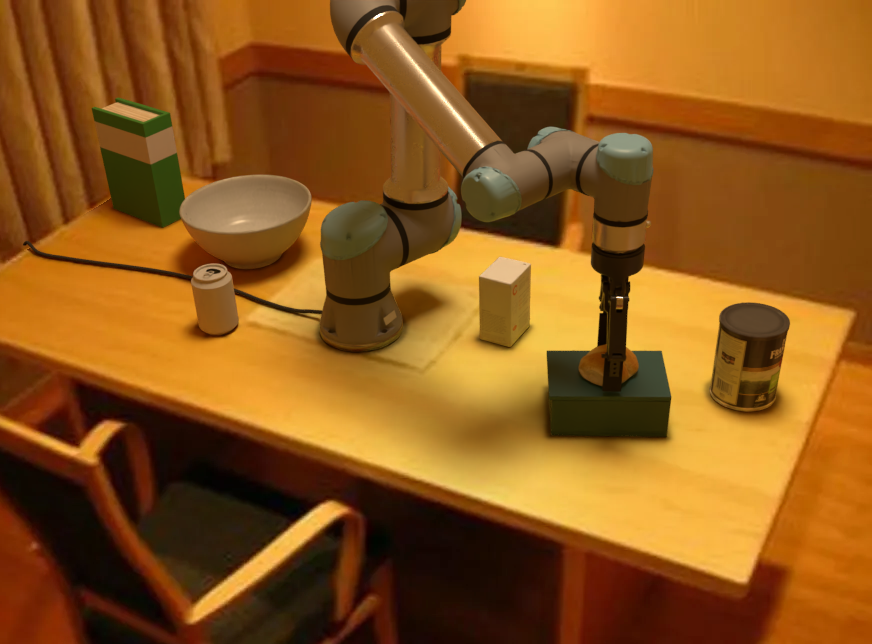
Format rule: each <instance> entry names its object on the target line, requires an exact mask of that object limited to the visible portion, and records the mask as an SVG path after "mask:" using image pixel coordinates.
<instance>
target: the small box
mask: <svg viewBox="0 0 872 644" xmlns="http://www.w3.org/2000/svg"><path fill="white" fill-rule="evenodd" d="M531 280H532V263H529V262H526V261H523V260H518V259H515V258H514V259H513V258H509V257H504V256H498V257H497V258H496V259H495V260H494V261H493V262H492V263H491V264H490V265H488V267H487V268H486V269H485V270H484V271H483V272H482V273H481V274H480V275H478V307H479V308H478V309H479V311H478V312H479V313H478V315H479V316H478V319H479V339H480V340H482V341H485V342H489V343H493V344H496V345H501V346H503V347H507V348H511V347H512V346H513V345H514V344H515V343H516V342H517V341H518V340H519V338H521V336H522V335H523V334H524V333H525V332H526V331H527V330H528V328H529V327H530V326H531V287H532V286H531V285H532V281H531Z"/></svg>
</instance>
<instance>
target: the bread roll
mask: <svg viewBox="0 0 872 644" xmlns="http://www.w3.org/2000/svg"><path fill="white" fill-rule="evenodd" d="M589 351H590V352H589V353H588V354H587V355H586V356H584V357H583V358H582V359H581V361H580V364H579V372H580V374H581V375H582V377H583V378H584V379H586V380H588V381H590V382H592V383H594V384H596V385H600V386H602V385H603V372H604V358H602V357H601V354H605V353H606V352H607V344H605V345H601V346H597V345H596V346H595V347H594V348H592V349H591V350H589ZM632 351H633V350H631V349H629V348H628V347H627V346H626V361H623V373H622V383H623V382H625V381H626V380H627V379H629V378H630V377H631V376H633V375H634V374H635V373H636V372H637V371H638V367H639V365H638V360H637V357H636V356H635V354H634V353H633V352H632Z"/></svg>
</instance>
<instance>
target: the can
mask: <svg viewBox="0 0 872 644" xmlns="http://www.w3.org/2000/svg"><path fill="white" fill-rule="evenodd" d="M192 276H193V278H192V279H190V284H191V290H192V295H193V301H194V302H193V303H194V307H195V312H196V318H197V323H198V327H199V329H200V330H201V331H203V332H204V333H206V334H208V335H210V336H221V335H226V334H228V333H230V332H232V331H234V329H235V328H236V327H237V325H238V324H239V320H240V318H239V313H238V306H237V300H236V293H235V292H234V288H235V285H234V280H233V275H232V274H231V272H230V271H228V268H227V266H225V265H224V264H222V263H221V264H220V263H216V262H215V263H214V262H213V263H205V264H203V265H200V266H198V267H197V268H195V269H194V271H193V273H192Z"/></svg>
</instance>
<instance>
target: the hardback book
mask: <svg viewBox="0 0 872 644" xmlns="http://www.w3.org/2000/svg"><path fill="white" fill-rule="evenodd" d="M114 101H115V102H114V103H112V104H109V105H107V106H105V107H102V108H100V107H99V106H98V107H97V106H93V107H91V113H92V116H93V122H94V126H95V131H96V136H97V140H98V144H99V149H100V154H101V159H102V162H103V163H102V164H103V168H104V172H105V178H106V181H107V186H108V190H109V195H110V200H111V204H112V209H113V210H116V211H118V212H122V213H124V214H126V215H129V216H131V217H135V218H137V219H139V220H142V221H144V222H147V223H149V224H152V225H155V226H156V227H160V228H161V229H164V228H166V227H167V226H169V225H172V224H174V223H175V222H178V221H180V220H181V217H180V213H179V211H180V206H181V204H182V202H183V201H184V200H185V198H186V197H185V189H184V184H183V179H182V174H181V168H180V162H179V156H178V151H177V150H178V149H177V145H176V140H175V134H174V127H173V122H172V116H171V112H169V111H165V110H162V109H159V108H156V107H152V106H149V105H145V104H142V103H139V102H136V101H132V100H128V99H126V98H122V97H119V96H118V97H115V98H114Z"/></svg>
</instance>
